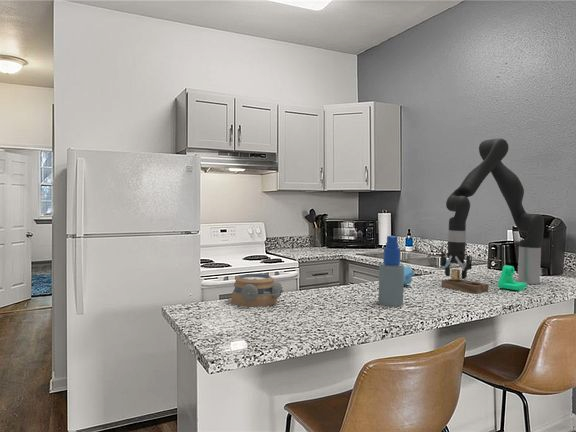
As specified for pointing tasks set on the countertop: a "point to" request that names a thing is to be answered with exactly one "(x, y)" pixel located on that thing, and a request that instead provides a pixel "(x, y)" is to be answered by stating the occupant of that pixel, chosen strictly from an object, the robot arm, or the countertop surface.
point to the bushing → (455, 275)
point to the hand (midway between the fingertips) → (455, 277)
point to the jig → (465, 286)
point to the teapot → (407, 275)
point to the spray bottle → (391, 275)
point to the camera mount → (510, 279)
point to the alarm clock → (255, 290)
